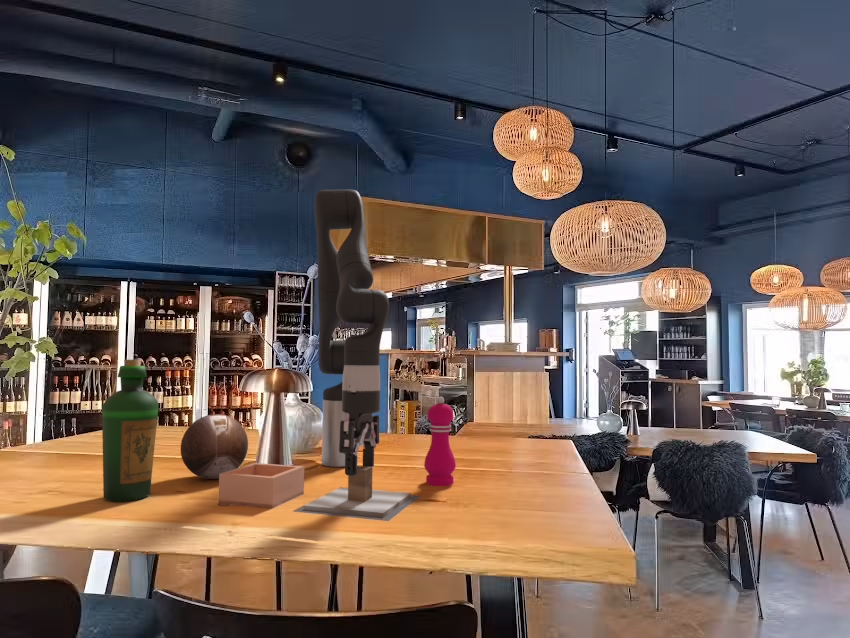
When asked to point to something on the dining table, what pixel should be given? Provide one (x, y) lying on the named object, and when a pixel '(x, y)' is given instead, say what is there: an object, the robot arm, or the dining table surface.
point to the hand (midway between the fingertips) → (359, 471)
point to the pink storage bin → (261, 485)
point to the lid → (359, 497)
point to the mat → (386, 518)
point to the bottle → (129, 436)
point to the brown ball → (214, 446)
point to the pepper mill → (440, 445)
